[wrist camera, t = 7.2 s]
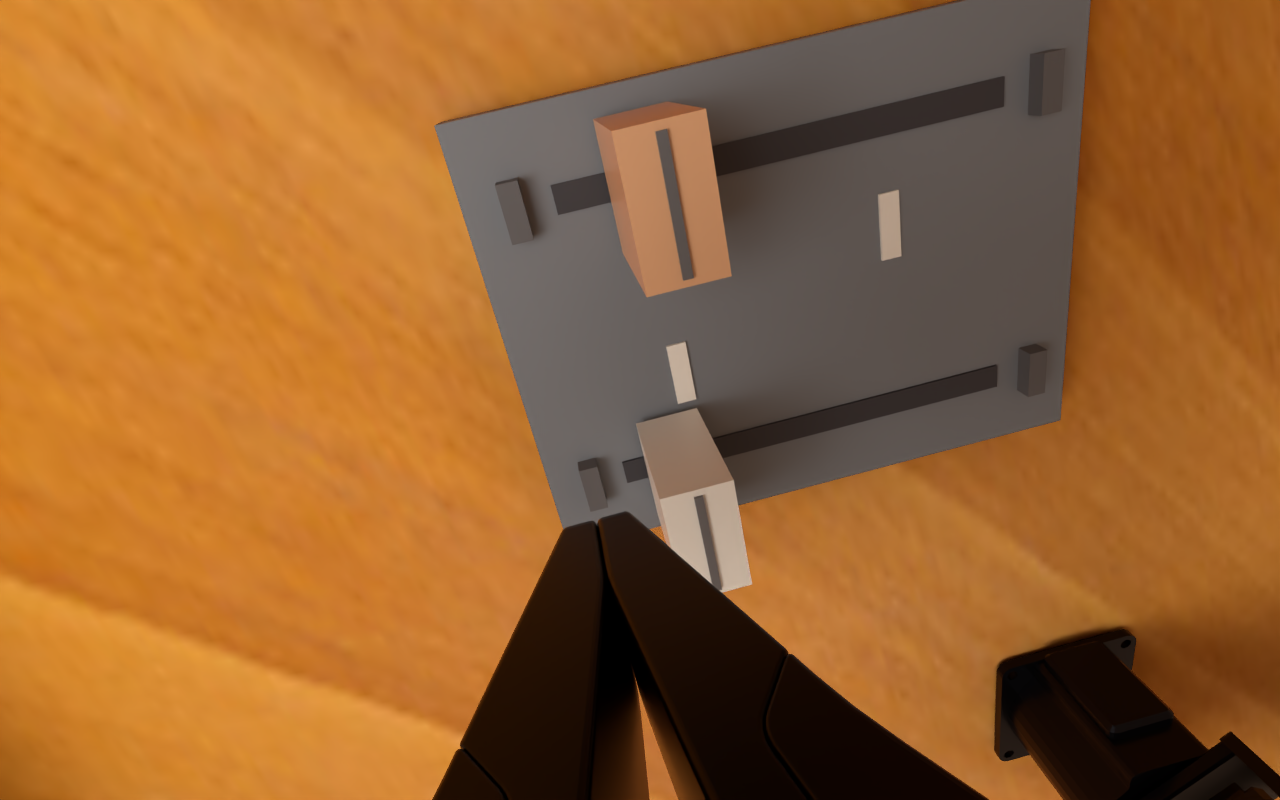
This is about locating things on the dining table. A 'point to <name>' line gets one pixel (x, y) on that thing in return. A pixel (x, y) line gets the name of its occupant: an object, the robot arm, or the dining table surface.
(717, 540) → the fader
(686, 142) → the fader
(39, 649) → the dining table surface
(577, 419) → the console
